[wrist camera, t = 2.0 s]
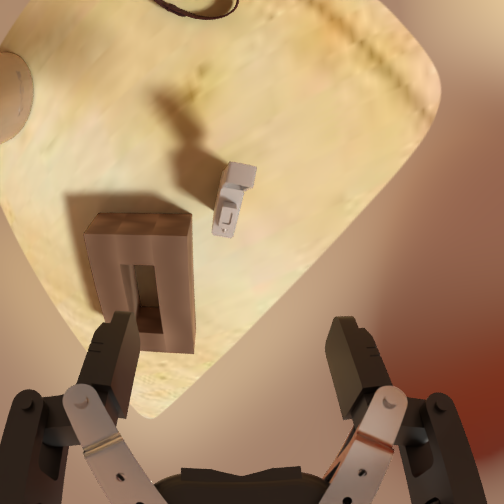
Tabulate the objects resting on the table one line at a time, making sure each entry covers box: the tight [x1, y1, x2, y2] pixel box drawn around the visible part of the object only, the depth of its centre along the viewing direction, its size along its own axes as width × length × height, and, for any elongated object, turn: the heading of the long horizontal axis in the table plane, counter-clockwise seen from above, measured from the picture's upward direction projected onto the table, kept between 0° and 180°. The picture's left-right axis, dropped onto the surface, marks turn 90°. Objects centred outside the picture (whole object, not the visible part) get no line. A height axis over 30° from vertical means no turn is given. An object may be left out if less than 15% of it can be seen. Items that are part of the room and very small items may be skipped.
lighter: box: [212, 162, 257, 238], centre depth 24 cm, size 7×2×8 cm, turn 166°
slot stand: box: [84, 213, 196, 354], centre depth 31 cm, size 9×15×4 cm, turn 176°
